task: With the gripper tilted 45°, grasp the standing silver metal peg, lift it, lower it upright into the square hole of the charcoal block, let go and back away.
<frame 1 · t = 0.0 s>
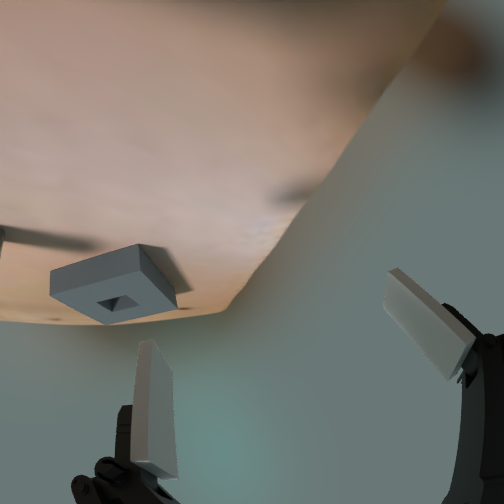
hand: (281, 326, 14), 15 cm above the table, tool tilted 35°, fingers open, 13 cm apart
hole block: (116, 281, 36), on the table
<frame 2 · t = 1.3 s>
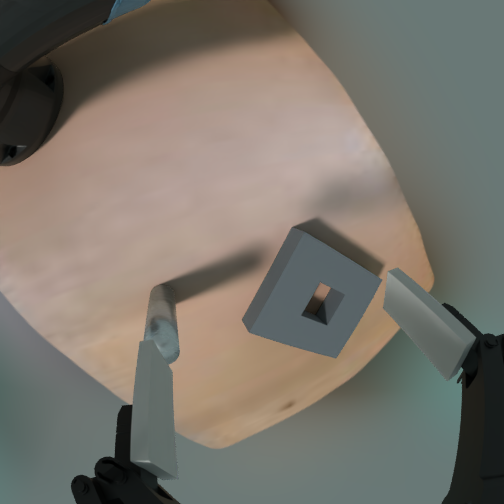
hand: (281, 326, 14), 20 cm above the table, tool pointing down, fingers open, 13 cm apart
hole block: (311, 295, 38), on the table
peg: (162, 296, 32), on the table
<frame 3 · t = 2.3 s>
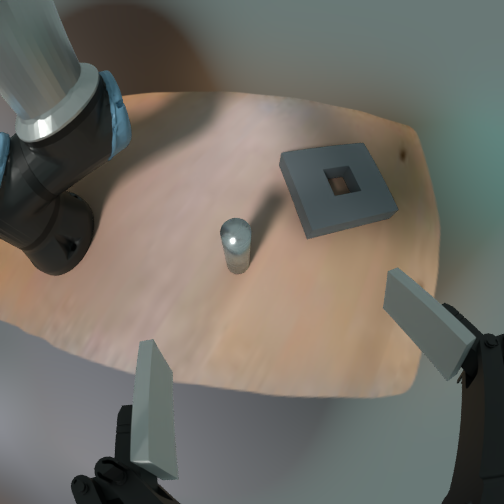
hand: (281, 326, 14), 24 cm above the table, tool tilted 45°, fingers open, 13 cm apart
hole block: (336, 190, 44), on the table
peg: (237, 263, 39), on the table
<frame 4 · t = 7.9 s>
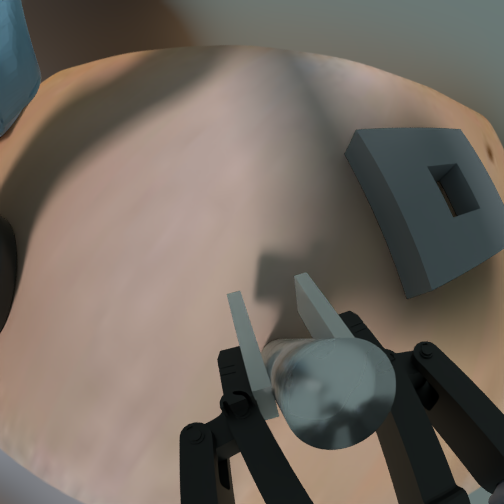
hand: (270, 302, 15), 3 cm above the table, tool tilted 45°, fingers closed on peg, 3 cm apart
hole block: (436, 204, 22), on the table
peg: (282, 361, 17), on the table, touching gripper
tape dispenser: (0, 131, 26), on the table
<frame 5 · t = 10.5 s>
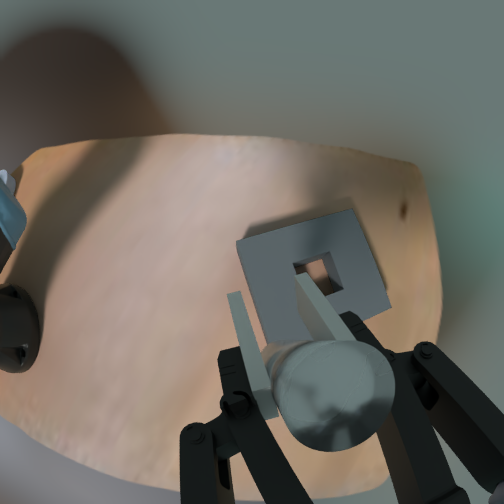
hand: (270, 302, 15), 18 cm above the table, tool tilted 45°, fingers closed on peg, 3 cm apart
hole block: (311, 281, 35), on the table
peg: (281, 362, 17), point 15 cm above the table, touching gripper
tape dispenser: (1, 204, 37), on the table
when the fingers open (7 cm above the table, at t = 13.5 s): peg drops 3 cm, resting in hole block.
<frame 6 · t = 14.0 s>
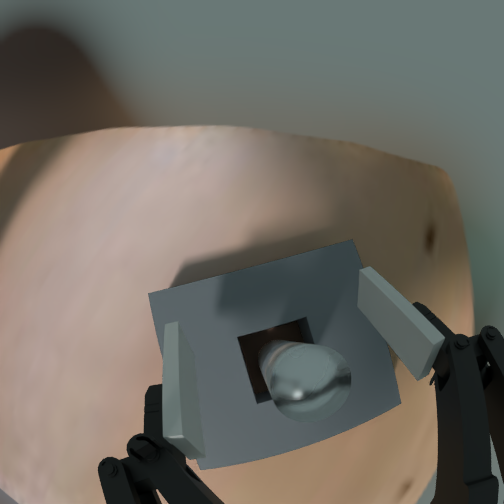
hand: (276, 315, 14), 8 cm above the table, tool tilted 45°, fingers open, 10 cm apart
hole block: (276, 357, 21), on the table
peg: (277, 358, 21), resting in hole block
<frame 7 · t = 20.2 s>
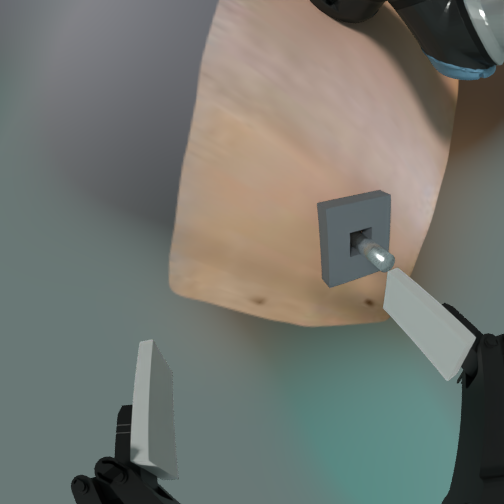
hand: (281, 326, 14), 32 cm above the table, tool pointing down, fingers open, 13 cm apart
hole block: (351, 234, 50), on the table
peg: (351, 235, 50), resting in hole block
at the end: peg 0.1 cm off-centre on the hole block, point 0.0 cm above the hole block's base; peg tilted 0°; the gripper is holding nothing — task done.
